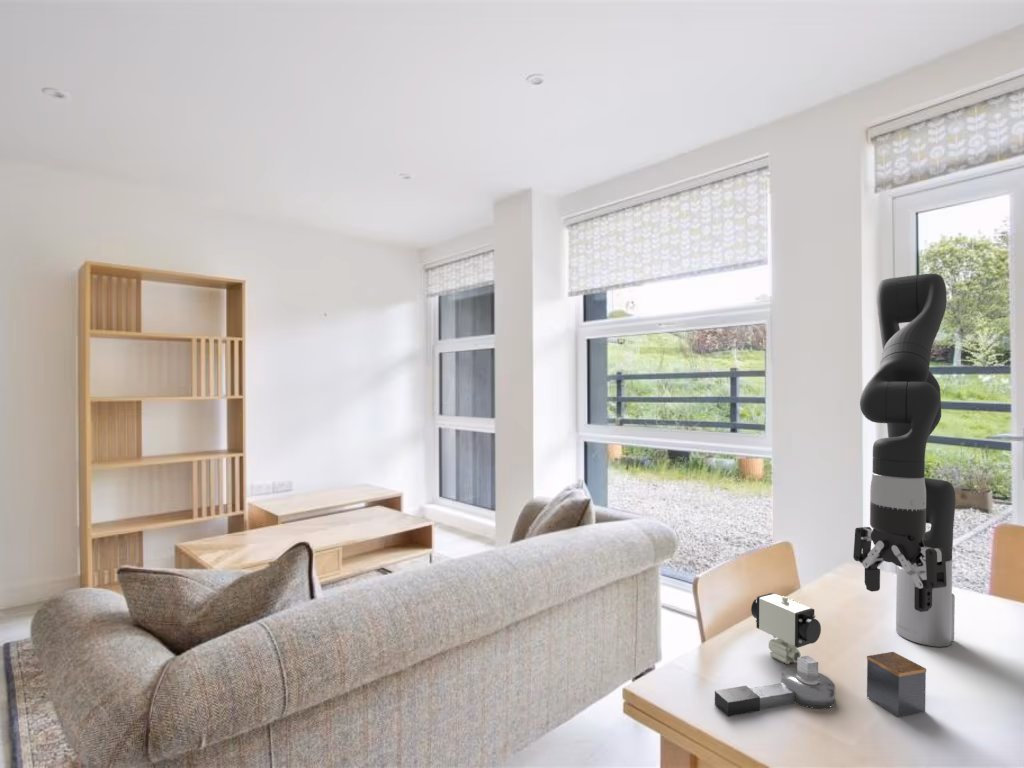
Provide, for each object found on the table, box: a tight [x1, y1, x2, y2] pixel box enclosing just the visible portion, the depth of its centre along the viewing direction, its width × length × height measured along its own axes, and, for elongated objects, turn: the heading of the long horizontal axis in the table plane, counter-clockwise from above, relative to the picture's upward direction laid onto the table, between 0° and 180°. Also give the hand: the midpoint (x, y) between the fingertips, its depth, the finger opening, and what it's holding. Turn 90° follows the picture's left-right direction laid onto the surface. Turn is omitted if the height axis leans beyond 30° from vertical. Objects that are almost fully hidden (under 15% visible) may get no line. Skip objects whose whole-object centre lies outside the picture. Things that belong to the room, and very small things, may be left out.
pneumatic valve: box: [750, 592, 822, 665], centre depth 104 cm, size 6×12×12 cm, turn 27°
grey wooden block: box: [866, 651, 927, 718], centre depth 90 cm, size 6×6×7 cm
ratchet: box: [714, 655, 836, 717], centre depth 91 cm, size 21×8×6 cm, turn 105°
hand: (896, 600), depth 90 cm, fingers open, 8 cm apart
